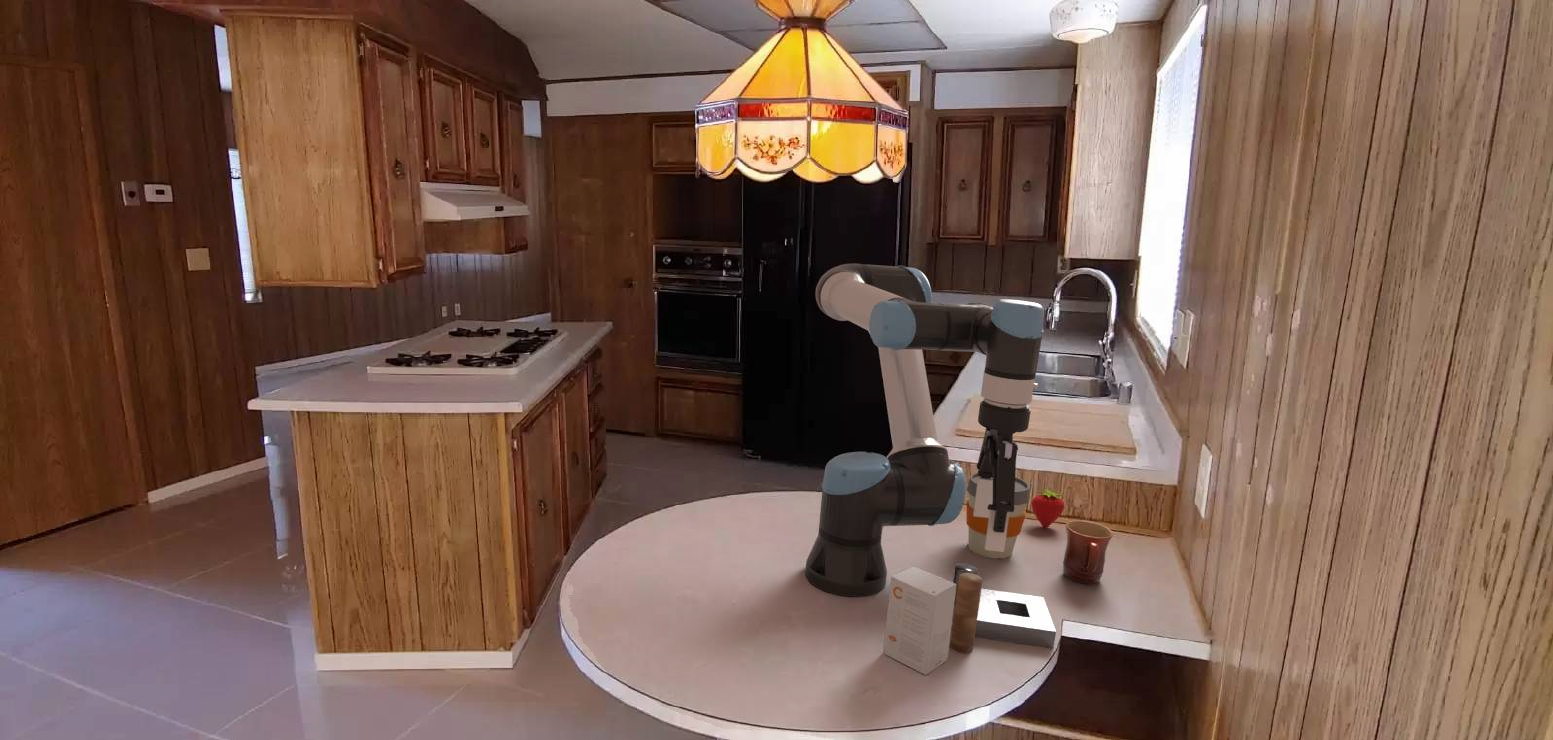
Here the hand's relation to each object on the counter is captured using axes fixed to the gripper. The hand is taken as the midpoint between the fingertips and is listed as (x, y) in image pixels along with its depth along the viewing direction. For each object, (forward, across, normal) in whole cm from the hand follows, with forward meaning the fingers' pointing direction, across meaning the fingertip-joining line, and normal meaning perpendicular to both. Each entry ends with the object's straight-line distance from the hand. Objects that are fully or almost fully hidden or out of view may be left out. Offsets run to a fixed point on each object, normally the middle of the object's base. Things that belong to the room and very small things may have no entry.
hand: (987, 532), depth 126 cm
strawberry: (+19, +56, -24) cm, 64 cm away
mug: (+19, +29, -25) cm, 43 cm away
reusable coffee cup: (+19, +40, -9) cm, 45 cm away
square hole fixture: (+19, +8, -6) cm, 21 cm away
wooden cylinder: (+19, -2, +2) cm, 19 cm away
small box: (+19, -7, +10) cm, 23 cm away
